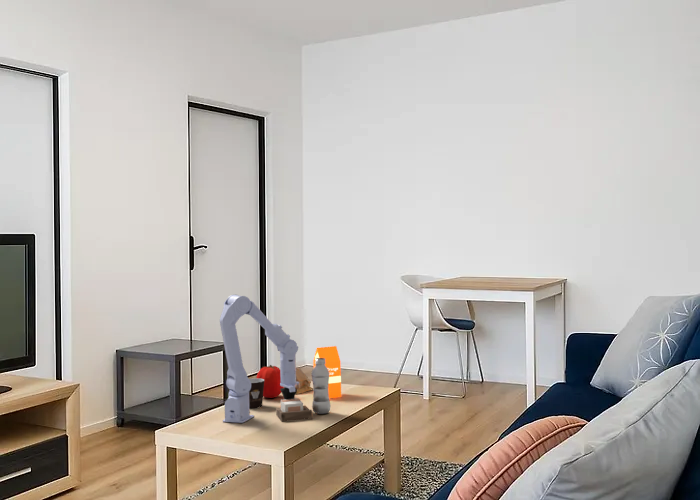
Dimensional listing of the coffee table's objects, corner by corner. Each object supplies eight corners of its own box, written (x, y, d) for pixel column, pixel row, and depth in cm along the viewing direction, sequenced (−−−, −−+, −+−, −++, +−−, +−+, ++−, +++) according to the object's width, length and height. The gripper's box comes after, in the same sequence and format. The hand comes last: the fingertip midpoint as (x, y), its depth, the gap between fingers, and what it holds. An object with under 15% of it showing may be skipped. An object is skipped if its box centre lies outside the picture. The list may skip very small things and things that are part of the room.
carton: (303, 417, 257) (303, 402, 257) (285, 418, 256) (285, 404, 255) (298, 411, 265) (298, 397, 265) (281, 413, 263) (280, 399, 263)
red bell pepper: (281, 393, 298) (280, 361, 297) (287, 399, 286) (287, 366, 286) (253, 395, 294) (252, 363, 294) (259, 402, 282) (258, 368, 282)
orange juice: (313, 395, 292) (312, 346, 291) (333, 393, 295) (332, 344, 295) (321, 399, 285) (320, 349, 284) (341, 397, 288) (340, 347, 288)
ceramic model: (292, 387, 310) (291, 363, 310) (316, 388, 307) (315, 365, 307) (278, 394, 297) (277, 369, 297) (303, 395, 293) (302, 371, 293)
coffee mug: (267, 404, 279) (266, 378, 279) (262, 409, 270) (261, 382, 270) (237, 403, 280) (237, 378, 280) (232, 409, 271) (231, 382, 271)
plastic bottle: (328, 416, 258) (327, 360, 258) (310, 415, 259) (309, 360, 259) (332, 411, 264) (331, 357, 264) (314, 411, 266) (313, 357, 265)
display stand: (312, 418, 255) (311, 410, 254) (281, 421, 251) (281, 413, 251) (305, 412, 264) (305, 404, 264) (276, 414, 261) (276, 406, 261)
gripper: (303, 373, 260) (304, 411, 260) (294, 367, 274) (295, 402, 274) (283, 375, 258) (284, 413, 258) (276, 368, 272) (277, 404, 272)
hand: (288, 407), depth 266 cm, fingers closed
